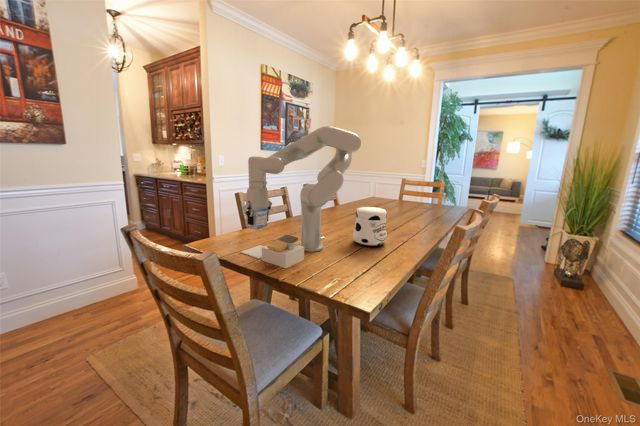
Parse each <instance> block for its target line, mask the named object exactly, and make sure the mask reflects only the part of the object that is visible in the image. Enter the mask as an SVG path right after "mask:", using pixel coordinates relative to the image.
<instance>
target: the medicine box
mask: <svg viewBox="0 0 640 426" xmlns="http://www.w3.org/2000/svg"><path fill="white" fill-rule="evenodd" d="M250 213H251V211H250ZM252 216H253V223H254V224H253V225H249V224H248V228H249V229H250V230H256V231H257V230H260V229H262V228H265V227H267V226H268V221H267V209H262V210H257V211H254V213H253V215H252Z"/></svg>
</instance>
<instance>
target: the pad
mask: <svg viewBox="0 0 640 426" xmlns="http://www.w3.org/2000/svg"><path fill="white" fill-rule="evenodd" d="M263 246H264V245H262V244H260V245H256V246H253V247H251V248H248V249H245V250H242V251H240V253H241V254H243V255H246V256H248V255H249V256H250V257H252V258H254V259H257V260H260V259H262V247H263Z"/></svg>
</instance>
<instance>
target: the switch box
mask: <svg viewBox="0 0 640 426" xmlns="http://www.w3.org/2000/svg"><path fill="white" fill-rule="evenodd" d="M277 239H278V238H273V239H272V242H274V241H276V240H277ZM267 245H268V244H267ZM267 245H262V246H263V247H262V258H261V261H263V262H266V263H269V264H272V265H275V266H277V267H280V268H284V269H288V268H290V267H292V266H294V265H296V264H298V263H301V262H302V261H304V260H305V251H304V247H303V246H299V245H298V244H297V243H296V244H295V243H289V244H288V247H286V248H285V249H283V250H282V251H280V252H279V251H276V250H273V249H269V248H267Z"/></svg>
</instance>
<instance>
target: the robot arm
mask: <svg viewBox="0 0 640 426" xmlns="http://www.w3.org/2000/svg"><path fill="white" fill-rule="evenodd" d="M361 145H362V140H361V138H360V136H359V135H358V134H357V133H356V132H355V133H354V132H351V131H347V130H345V129H341V128H339V127H334V126H330V125H326V126H321V127H319V128H317V129H314V130H313V131H311V132H310V133H308V134H306V135H304V136H303V137H301V138H299V139H297V140H295V141H294V142H292V143H290V144H289V145H287V146H286V147H283V148H282V149H279V150H278V151H276V152H274V153H273V154H271V155H269V156H267V157H264V156H250V157H248V160H247V162H248V164H247V166H248V188H247V189H246V194H245V205H243V206H242V207H241V209H242V210H243V211H242V212H243V213H244V214H245V216H246V217H247V225H248V226H249V225H253V224H254V223H253V216H252V215H253V213H254V211H257V210H262V209H267V222H269V213H270V210H271V208H272V205H273V202H271V200H269V192H268V187H267V184H268V181H267V174H271V175H278V174H280V173H282V172H283V171H284V170H285V167H286V166H287V165H289V164H291V163H293V162H296V161H300V160H303V159H306V158H308V157H309V156H311V155H313V154H315V153H317V152H318V151H320V150H322V149H323V148H326V147H330V148H333V149H335V154H334V156H333V158H332V159H331V160H330V161H329V162H328V163H327V164H326V165H324V168H323V169H321V170H320V171H319V173H318V174H317V183H316V184H314V183H307V184H305V185H303V186H302V188H301V190H300V194H299V196H300V208H301V209H300V210H301V213H300V214H301V215H300V219H301V220H300V223H301V224H300V242H299V243H298V244H297V245H299V246H303V247H304V252H311V253H312V252H313V253H315V252H319V251H321V250H323V249H324V245H323V243H322V241H325V236H324V235H323V236H321V225H322V224H321V223H322V220H321V219H322V207H324V205H326V204H327V203H328V202H329V201H330V200H331V199H332V198H333V196H335V195H336V194H337V192H338V191H339V190H340V189H341V188H342V186H343V184H344V173H346V171H347V170H348V169H349V167H350V165H351V164H352V157H353V153H356V152H358V150H360V148H361ZM250 211H251V213H250Z"/></svg>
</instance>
